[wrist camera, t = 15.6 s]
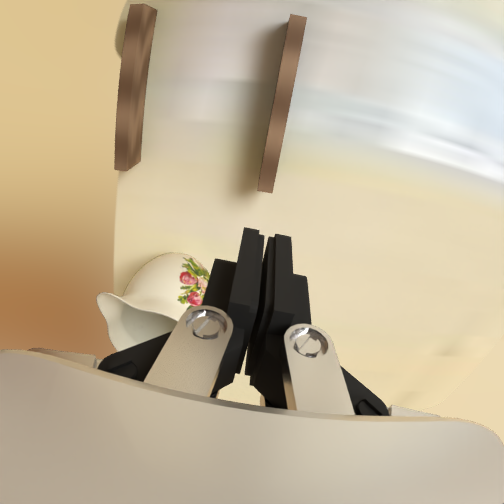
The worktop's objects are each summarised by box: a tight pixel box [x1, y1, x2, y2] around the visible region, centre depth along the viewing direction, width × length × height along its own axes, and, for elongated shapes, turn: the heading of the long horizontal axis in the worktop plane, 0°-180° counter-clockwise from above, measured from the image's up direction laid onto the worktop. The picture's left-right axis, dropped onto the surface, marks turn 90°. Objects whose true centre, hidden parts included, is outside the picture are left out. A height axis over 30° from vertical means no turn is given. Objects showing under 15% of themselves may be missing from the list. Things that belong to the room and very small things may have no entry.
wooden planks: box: [115, 4, 307, 193], centre depth 29 cm, size 18×17×4 cm
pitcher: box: [96, 253, 210, 352], centre depth 38 cm, size 11×18×14 cm, turn 31°
